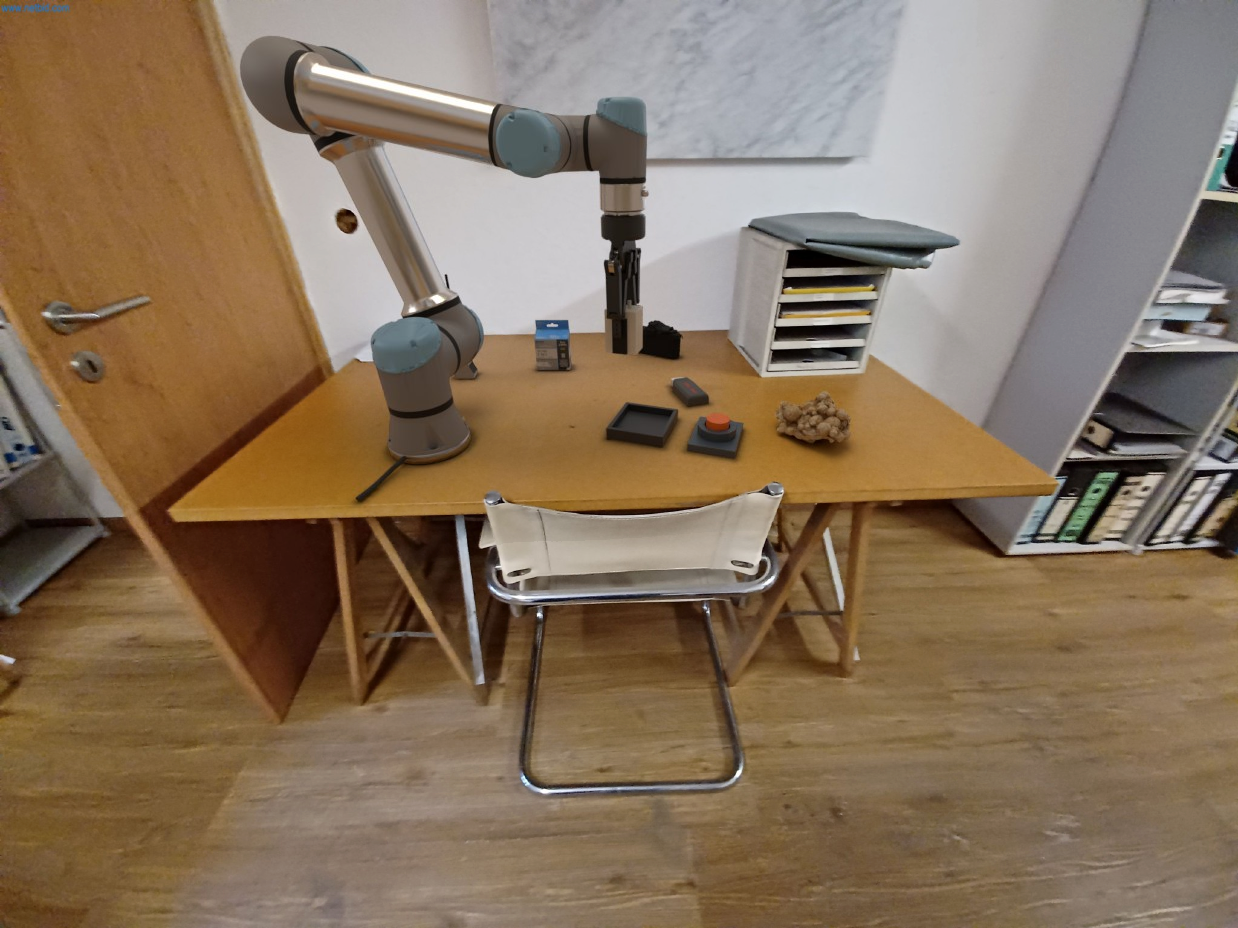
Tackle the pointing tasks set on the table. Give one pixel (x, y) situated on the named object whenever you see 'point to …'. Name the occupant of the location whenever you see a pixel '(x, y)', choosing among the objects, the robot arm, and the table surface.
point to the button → (717, 422)
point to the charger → (628, 329)
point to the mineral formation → (814, 420)
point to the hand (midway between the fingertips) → (624, 348)
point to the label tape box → (552, 345)
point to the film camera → (661, 340)
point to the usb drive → (689, 392)
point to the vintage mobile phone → (469, 369)
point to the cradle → (642, 424)
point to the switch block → (715, 439)
